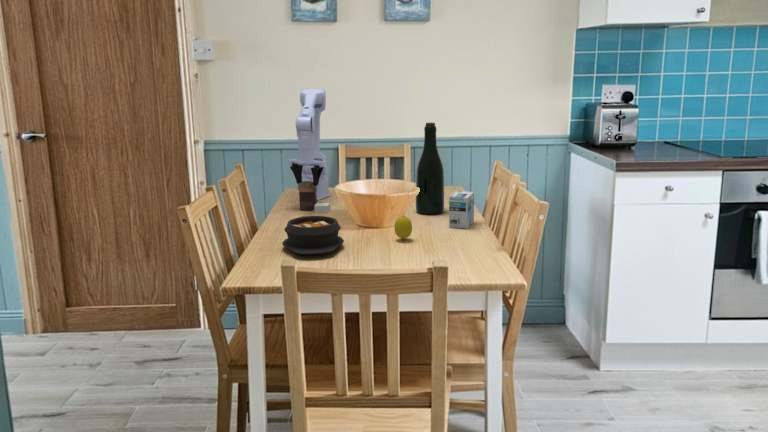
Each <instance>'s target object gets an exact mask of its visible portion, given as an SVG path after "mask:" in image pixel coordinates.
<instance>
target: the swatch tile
mask: <svg viewBox="0 0 768 432" xmlns="http://www.w3.org/2000/svg"><path fill="white" fill-rule="evenodd" d="M317 203H330V206H331V205H333V202H332V203H331V202H327V201H319V202H318V201H317Z"/></svg>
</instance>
